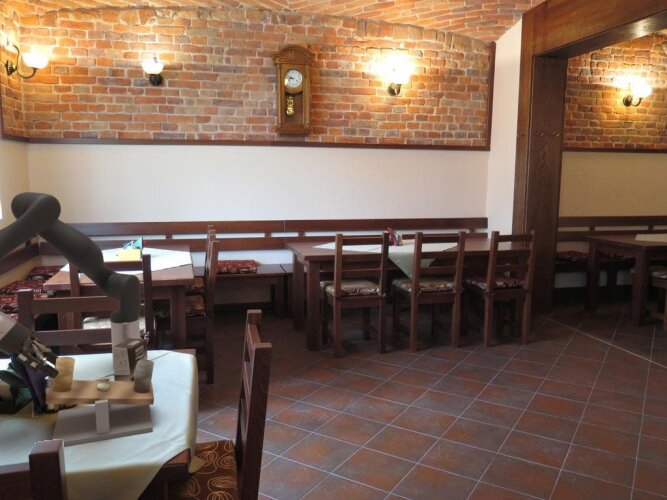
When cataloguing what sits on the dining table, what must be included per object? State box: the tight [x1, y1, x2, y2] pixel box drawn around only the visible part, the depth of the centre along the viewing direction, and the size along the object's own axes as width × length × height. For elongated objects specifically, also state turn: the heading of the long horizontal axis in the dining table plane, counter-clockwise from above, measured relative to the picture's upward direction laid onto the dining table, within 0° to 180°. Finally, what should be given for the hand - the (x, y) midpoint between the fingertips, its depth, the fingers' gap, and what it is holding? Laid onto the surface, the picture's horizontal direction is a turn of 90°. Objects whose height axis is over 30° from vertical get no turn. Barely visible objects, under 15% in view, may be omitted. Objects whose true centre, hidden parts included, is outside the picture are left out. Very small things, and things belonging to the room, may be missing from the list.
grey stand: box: [51, 376, 153, 447], centre depth 143 cm, size 24×19×10 cm
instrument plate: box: [45, 356, 155, 405], centre depth 142 cm, size 26×13×10 cm, turn 112°
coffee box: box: [112, 338, 149, 382], centre depth 162 cm, size 9×6×16 cm
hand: (58, 369), depth 137 cm, fingers open, 8 cm apart
